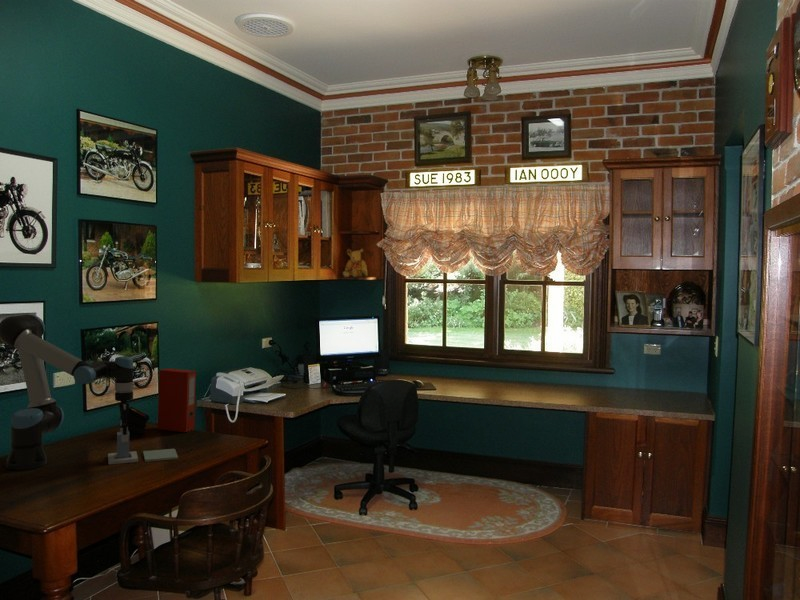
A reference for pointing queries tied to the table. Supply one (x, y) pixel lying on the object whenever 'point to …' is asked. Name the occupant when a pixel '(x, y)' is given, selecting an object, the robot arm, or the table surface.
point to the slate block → (122, 447)
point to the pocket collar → (122, 460)
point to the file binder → (176, 400)
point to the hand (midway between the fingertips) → (124, 437)
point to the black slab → (136, 423)
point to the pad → (160, 455)
